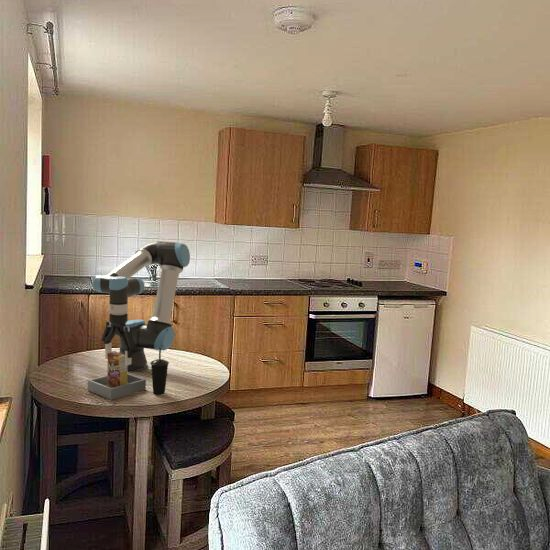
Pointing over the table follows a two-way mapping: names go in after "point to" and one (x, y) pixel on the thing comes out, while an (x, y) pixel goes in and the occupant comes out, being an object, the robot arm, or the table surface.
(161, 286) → the robot arm
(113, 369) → the candy box
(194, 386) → the table surface
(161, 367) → the drinking cup
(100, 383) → the tray
